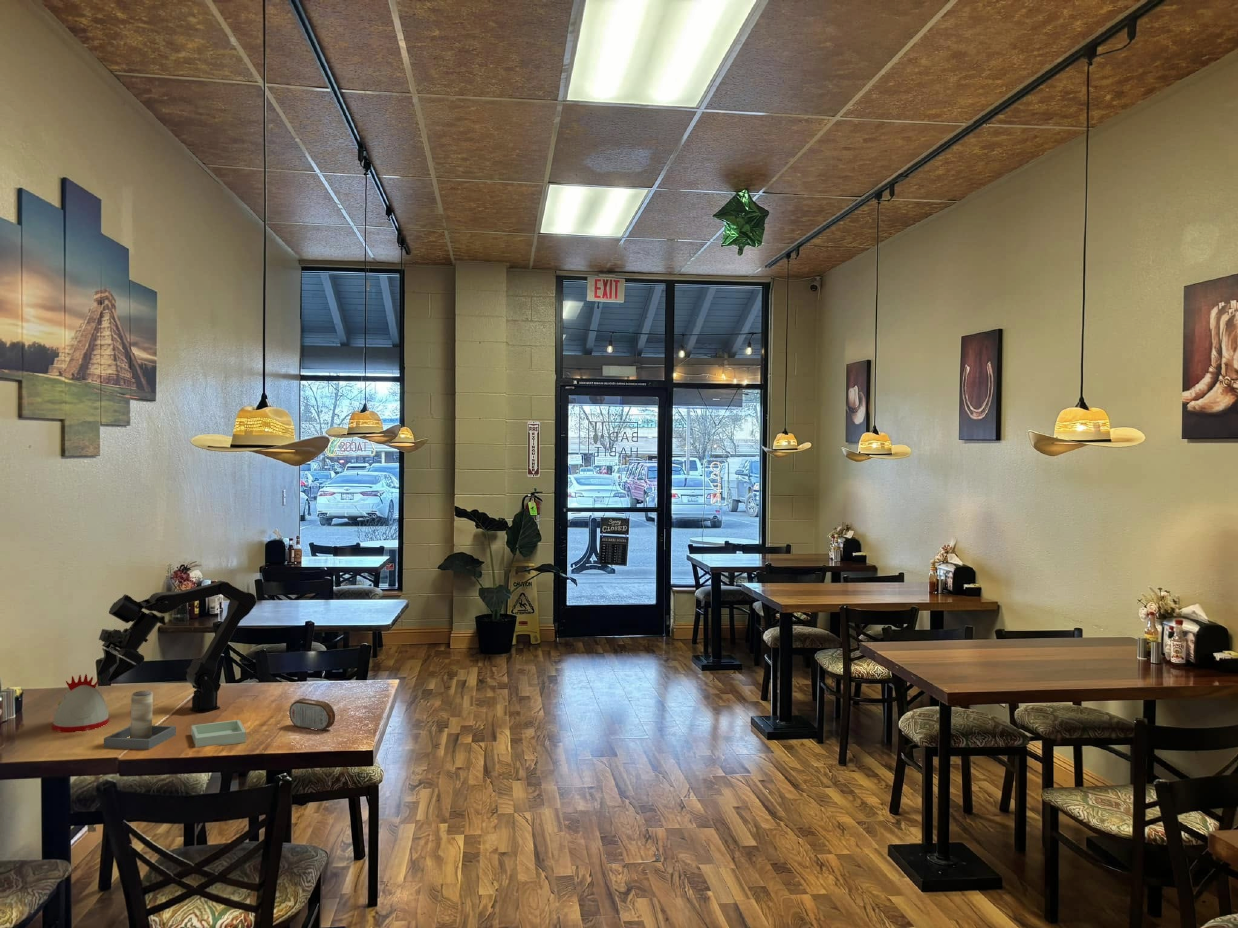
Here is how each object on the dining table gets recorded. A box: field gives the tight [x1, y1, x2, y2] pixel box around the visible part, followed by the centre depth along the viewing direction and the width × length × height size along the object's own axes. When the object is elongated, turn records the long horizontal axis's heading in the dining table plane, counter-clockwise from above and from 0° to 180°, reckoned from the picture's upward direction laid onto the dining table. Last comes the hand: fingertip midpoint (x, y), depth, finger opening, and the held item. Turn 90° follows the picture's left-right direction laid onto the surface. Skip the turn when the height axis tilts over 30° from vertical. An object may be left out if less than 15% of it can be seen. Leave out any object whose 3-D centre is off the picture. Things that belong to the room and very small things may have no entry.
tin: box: [288, 697, 336, 731], centre depth 249 cm, size 15×3×8 cm, turn 71°
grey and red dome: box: [52, 673, 110, 733], centre depth 245 cm, size 14×14×15 cm
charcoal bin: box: [103, 724, 177, 751], centre depth 231 cm, size 13×13×3 cm
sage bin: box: [190, 719, 247, 748], centre depth 236 cm, size 13×13×3 cm
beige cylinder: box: [129, 690, 154, 739], centre depth 231 cm, size 5×5×13 cm
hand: (103, 677), depth 243 cm, fingers open, 9 cm apart
